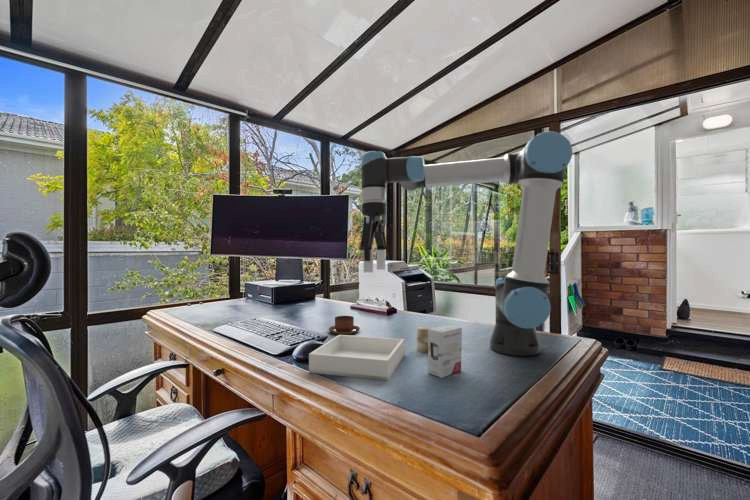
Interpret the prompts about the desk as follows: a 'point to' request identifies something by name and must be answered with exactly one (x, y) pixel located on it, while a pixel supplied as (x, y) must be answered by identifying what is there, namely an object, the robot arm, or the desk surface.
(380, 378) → the tray
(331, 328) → the cup and saucer
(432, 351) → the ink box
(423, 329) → the birch cylinder
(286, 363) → the desk surface
